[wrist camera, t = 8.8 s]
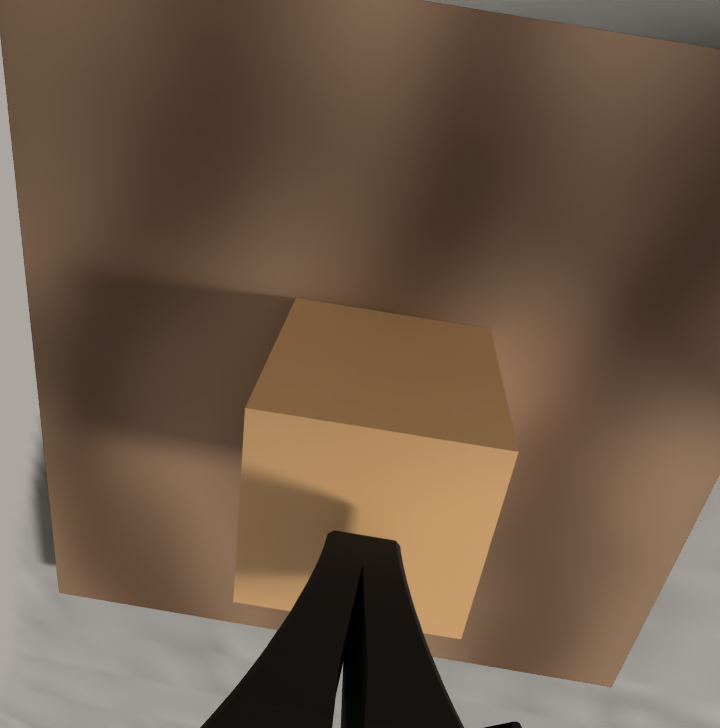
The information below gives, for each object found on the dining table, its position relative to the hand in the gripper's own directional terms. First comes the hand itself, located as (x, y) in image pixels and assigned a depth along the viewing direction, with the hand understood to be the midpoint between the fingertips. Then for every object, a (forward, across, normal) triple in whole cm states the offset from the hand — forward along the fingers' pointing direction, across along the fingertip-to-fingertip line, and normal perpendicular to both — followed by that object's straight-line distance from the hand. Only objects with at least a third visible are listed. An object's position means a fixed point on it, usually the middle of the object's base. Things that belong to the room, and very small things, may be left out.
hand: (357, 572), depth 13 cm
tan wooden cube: (+6, 0, 0) cm, 7 cm away
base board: (+8, 0, 0) cm, 8 cm away
